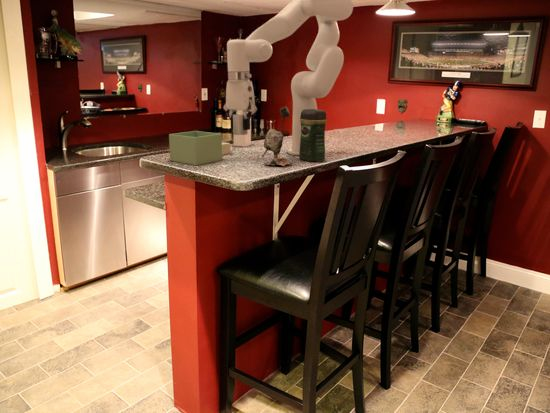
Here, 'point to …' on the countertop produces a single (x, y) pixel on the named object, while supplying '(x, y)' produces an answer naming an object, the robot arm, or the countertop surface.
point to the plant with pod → (276, 141)
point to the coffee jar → (312, 135)
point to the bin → (195, 147)
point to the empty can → (238, 125)
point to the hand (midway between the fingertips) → (240, 128)
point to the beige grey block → (225, 148)
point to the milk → (243, 136)
